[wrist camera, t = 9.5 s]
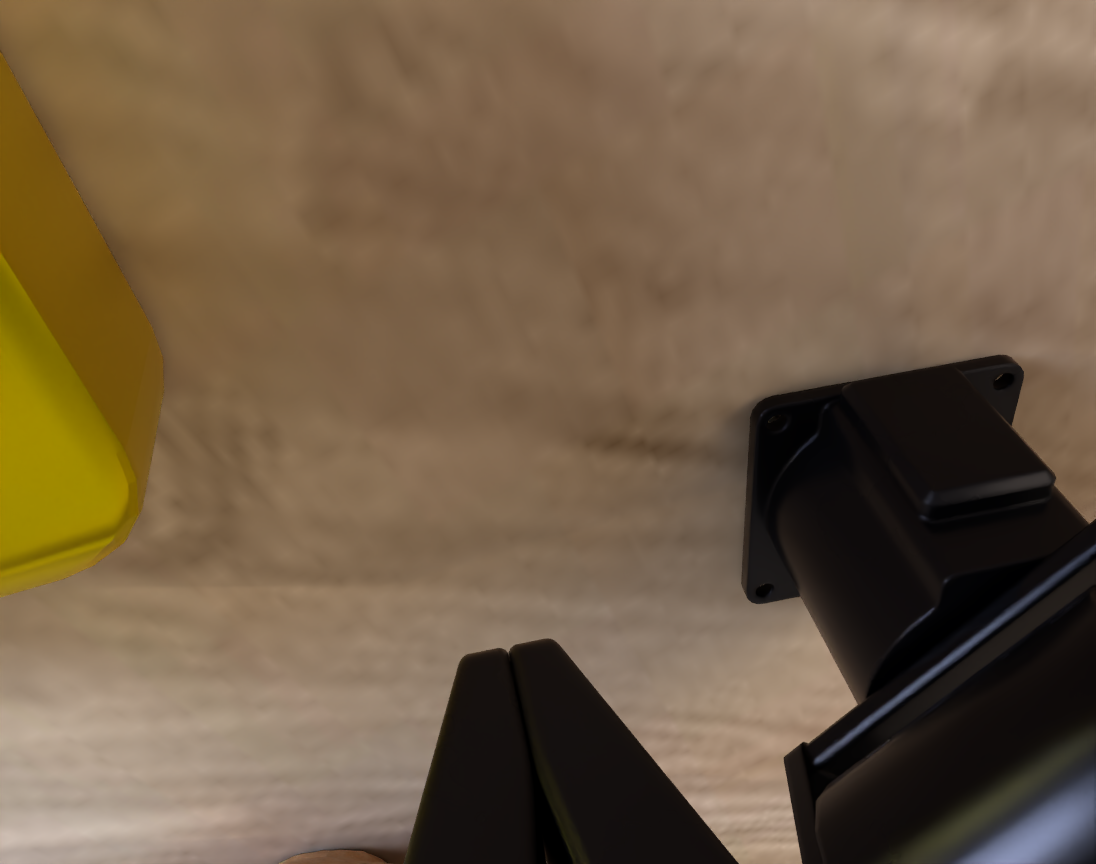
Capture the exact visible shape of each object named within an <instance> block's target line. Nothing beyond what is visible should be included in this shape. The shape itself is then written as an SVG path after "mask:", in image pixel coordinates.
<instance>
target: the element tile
mask: <svg viewBox="0 0 1096 864" xmlns="http://www.w3.org/2000/svg"><path fill="white" fill-rule="evenodd" d="M163 394H164V375H163V356H162V354H161V351H160V348H159V345H158V342H157V340H156V337H155V334H154V331H153V328H152V326H151V324H150V323H149V321H148V319H147V317H146V315H145V313H144V312H143V310H142V308H141V306H140V304H139V303H138V301H137V299H136V297H135V295H134V293H133V292H132V290H131V288H130V286H129V284H128V283H127V281H126V279H125V277H124V275H123V273H122V272H121V270H120V268H119V266H118V264H117V262H116V261H115V259H114V257H113V255H112V253H111V252H110V250H109V248H108V246H107V244H106V242H105V241H104V239H103V237H102V235H101V233H100V231H99V230H98V228H97V226H96V224H95V222H94V221H93V219H92V217H91V215H90V213H89V211H88V210H87V208H86V206H85V204H84V202H83V200H82V199H81V197H80V195H79V193H78V191H77V190H76V188H75V186H74V184H73V182H72V180H71V179H70V177H69V175H68V173H67V171H66V170H65V168H64V166H63V164H62V162H61V160H60V159H59V157H58V155H57V153H56V151H55V149H54V148H53V146H52V144H51V142H50V140H49V139H48V137H47V135H46V133H45V131H44V129H43V128H42V126H41V124H40V122H39V120H38V118H37V117H36V115H35V113H34V111H33V109H32V108H31V106H30V104H29V102H28V100H27V98H26V97H25V95H24V93H23V91H22V89H21V87H20V86H19V84H18V82H17V80H16V78H15V77H14V75H13V73H12V71H11V69H10V67H9V66H8V64H7V62H6V60H5V58H4V57H3V55H2V53H1V51H0V597H4V596H7V595H11V594H14V593H17V592H21V591H24V590H28V589H31V588H34V587H38V586H41V585H45V584H48V583H52V582H55V581H58V580H62V579H65V578H67V577H69V576H72V575H74V574H76V573H78V572H80V571H83V570H85V569H87V568H89V567H92V566H94V565H95V564H96V563H98V562H99V561H100V560H102V559H103V558H104V557H106V556H107V555H108V554H110V553H111V552H112V551H114V550H115V549H116V548H118V547H119V546H120V545H122V544H123V543H124V542H125V541H126V539H127V538H128V536H129V534H130V532H131V530H132V528H133V526H134V524H135V522H136V520H137V518H138V516H139V514H140V512H141V511H142V507H143V502H144V497H145V491H146V486H147V481H148V475H149V470H150V464H151V459H152V454H153V448H154V443H155V437H156V432H157V427H158V421H159V416H160V410H161V405H162V400H163Z"/></svg>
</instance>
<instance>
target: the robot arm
mask: <svg viewBox="0 0 1096 864" xmlns="http://www.w3.org/2000/svg"><path fill="white" fill-rule="evenodd" d="M1002 374H1003V375H1002ZM1000 375H1002V376H1001V377H1000V378H999V379H998V380H995V379H996V378H997V377H999V376H1000ZM1023 379H1024V371H1023V370H1022V368H1021V367H1020V366H1019V365H1018V364H1017V363H1016V362H1015V361H1014V360H1013V359H1012V358H1011V357H1009V356H1007V355H996V356H990V357H985V358H979V359H974V360H968V361H963V362H957V363H952V364H946V365H941V366H935V367H930V368H924V369H919V370H913V371H908V372H902V373H897V374H891V375H886V376H880V377H875V378H869V379H864V380H858V381H853V382H847V383H842V384H836V385H831V386H825V387H820V388H814V389H809V390H803V391H798V392H792V393H787V394H781V395H776V396H771V397H768V398H765V399H763V400H762V401H761V402H759V403H758V404H757V405H756V406H755V408H754V409H753V410H752V413H751V417H750V434H749V452H748V471H747V489H746V508H745V526H744V545H743V563H742V582H741V583H742V588H743V590H744V592H745V594H746V596H747V598H748V600H749V601H751V602H752V603H756V604H764V603H769V602H774V601H779V600H784V599H789V598H794V597H799V596H801V598H802V600H803V602H804V603H805V605H806V607H807V609H808V611H809V613H810V615H811V617H812V619H813V620H814V622H815V624H816V626H817V628H818V630H819V632H820V634H821V636H822V637H823V639H824V641H825V643H826V645H827V647H828V649H829V651H830V653H831V654H832V656H833V658H834V660H835V662H836V664H837V666H838V668H839V670H840V671H841V673H842V675H843V677H844V679H845V681H846V683H847V685H848V687H849V689H850V690H851V692H852V694H853V696H854V698H855V700H856V702H857V704H858V705H857V706H856V707H854V708H853V709H852V710H851V711H849V712H848V713H847V714H845V715H844V716H843V717H842V718H840V719H839V720H838V721H836V722H835V723H834V724H833V725H831V726H830V727H829V728H827V729H826V730H825V731H824V732H822V733H821V734H820V735H819V736H817V737H816V738H815V739H813V740H812V741H811V742H810V743H805V742H802V743H801V744H800V745H799V746H797V747H796V748H795V749H794V750H792V751H791V752H790V753H788V754H787V755H786V756H785V757H784V764H785V770H786V775H787V781H788V786H789V792H790V798H791V803H792V809H793V814H794V820H795V825H796V831H797V836H798V842H799V848H800V853H801V859H802V864H1096V519H1095V520H1094V521H1093V522H1091V523H1090V524H1089V523H1088V522H1087V521H1086V520H1085V519H1084V518H1083V517H1082V515H1081V514H1080V513H1079V512H1078V511H1077V510H1076V509H1075V508H1074V507H1073V505H1072V504H1071V503H1070V502H1069V501H1068V500H1067V499H1066V498H1065V497H1064V496H1063V494H1062V493H1061V492H1060V491H1059V490H1058V489H1057V488H1056V487H1055V486H1054V483H1055V480H1056V477H1055V474H1054V472H1053V471H1052V470H1051V469H1050V468H1049V467H1048V466H1047V465H1046V464H1045V463H1044V462H1043V460H1042V459H1041V458H1040V457H1039V456H1038V455H1037V454H1036V453H1035V452H1034V451H1033V450H1032V448H1031V447H1030V446H1029V445H1028V444H1027V443H1026V442H1025V441H1024V440H1023V439H1022V438H1021V436H1020V435H1019V434H1018V433H1017V432H1016V431H1015V430H1014V429H1013V428H1012V427H1011V426H1012V422H1013V418H1014V414H1015V410H1016V406H1017V402H1018V398H1019V394H1020V390H1021V386H1022V383H1023ZM776 415H781V416H780V417H779V418H778V419H777V420H776V421H773V422H768V421H769V420H770V419H771V418H772V417H774V416H776ZM763 584H764V585H763ZM546 861H547V862H546ZM404 864H738V862H737V861H736V860H735V859H734V857H733V856H732V855H731V854H730V853H729V851H728V850H727V849H726V848H725V846H724V845H723V844H722V843H721V842H720V840H719V839H718V838H717V837H716V835H715V834H714V833H713V832H712V831H711V829H710V828H709V827H708V826H707V824H706V823H705V822H704V821H703V820H702V818H701V817H700V816H699V815H698V813H697V812H696V811H695V810H694V809H693V807H692V806H691V805H690V804H689V803H688V801H687V800H686V799H685V798H684V796H683V795H682V794H681V793H680V792H679V790H678V789H677V788H676V787H675V785H674V784H673V783H672V782H671V781H670V779H669V778H668V777H667V776H666V774H665V773H664V772H663V771H662V770H661V768H660V767H659V766H658V765H657V763H656V762H655V761H654V760H653V759H652V757H651V756H650V755H649V754H648V752H647V751H646V750H645V749H644V748H643V746H642V745H641V744H640V743H639V741H638V740H637V739H636V738H635V737H634V735H633V734H632V733H631V732H630V730H629V729H628V728H627V727H626V726H625V724H624V723H623V722H622V721H621V719H620V718H619V717H618V716H617V715H616V713H615V712H614V711H613V710H612V708H611V707H610V706H609V705H608V704H607V702H606V701H605V700H604V699H603V698H602V696H601V695H600V694H599V693H598V691H597V690H596V689H595V688H594V687H593V685H592V684H591V683H590V682H589V680H588V679H587V678H586V677H585V676H584V674H583V673H582V672H581V671H580V669H579V668H578V667H577V666H576V665H575V663H574V662H573V661H572V660H571V658H570V657H569V656H568V655H567V654H566V652H565V651H564V650H563V649H562V647H561V646H560V645H559V644H558V643H557V642H555V641H554V640H552V639H541V640H536V641H531V642H526V643H521V644H516V645H514V646H513V647H512V648H511V649H510V651H509V655H508V652H507V651H506V650H504V649H502V648H496V649H491V650H486V651H481V652H476V653H471V654H467V655H465V656H464V657H463V658H462V659H461V661H460V663H459V665H458V668H457V672H456V676H455V679H454V683H453V687H452V690H451V694H450V697H449V701H448V705H447V708H446V712H445V716H444V719H443V723H442V726H441V730H440V734H439V737H438V741H437V745H436V748H435V752H434V755H433V759H432V763H431V766H430V770H429V774H428V777H427V781H426V784H425V788H424V792H423V795H422V799H421V803H420V806H419V810H418V813H417V817H416V821H415V824H414V828H413V832H412V835H411V839H410V842H409V846H408V850H407V853H406V857H405V860H404Z"/></svg>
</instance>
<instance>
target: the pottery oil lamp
mask: <svg viewBox="0 0 1096 864" xmlns="http://www.w3.org/2000/svg"><path fill="white" fill-rule="evenodd" d="M278 864H392V863H385V862H384V860H382V859H380V858H378V857H376V856H374V855H371V854H368V853H366V852H364V851H352V850H334V851H326V850H322V851H318V852H312V853H303V854H299V855H296V856H294V857H291V858H289V859H287V860H284V861H282V862H280V863H278Z"/></svg>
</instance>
